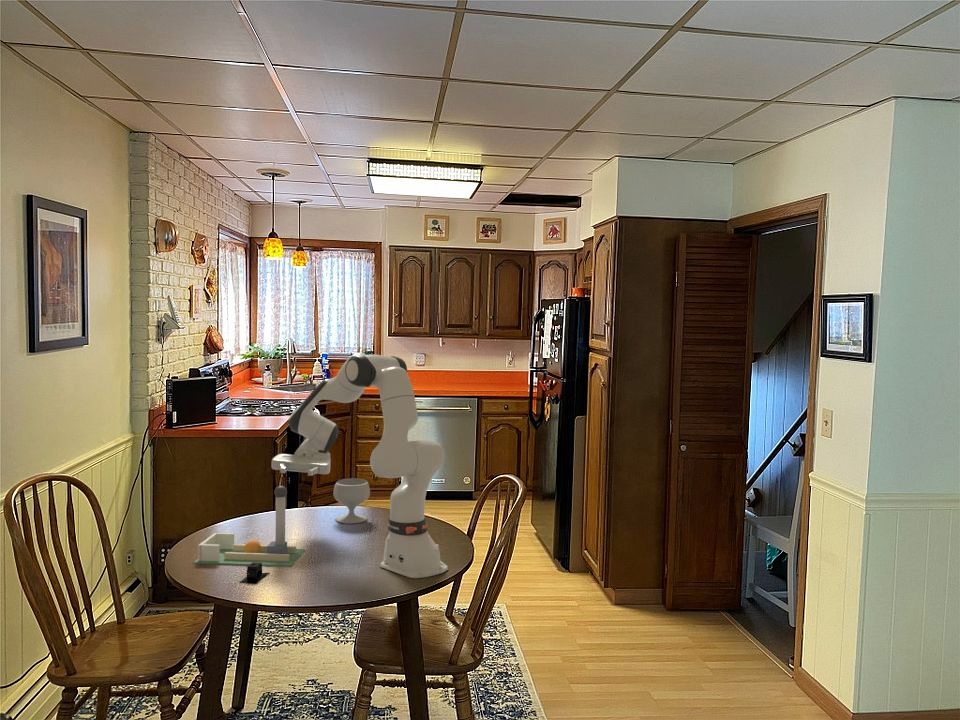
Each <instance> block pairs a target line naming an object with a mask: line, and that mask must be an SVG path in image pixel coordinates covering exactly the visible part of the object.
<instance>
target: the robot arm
mask: <svg viewBox="0 0 960 720" xmlns="http://www.w3.org/2000/svg"><path fill="white" fill-rule="evenodd" d="M366 388H376V389H378V392H379V397H380V404H381V411H382V418H383V420H382V421H383V430H382V431H383V432H382V435H381V438H380V440H379V443H378V444H377V445H376V446H375V447H374V449H373V450H372V452H371V455H370V458H369V465H370V468H371V471H372V472H373V473H374V476H376V477H378V478H385V479H396V478H403V479H402V481H401V483H400V484H399V486H397V487H396V488H394V490H392V492H391V494H390V497H389V517H388V522H387V530H388V535H387V537H386V539H385V540H384V541H385V542H384V548H383V550H384V552H383V559H382V561H380V567H381V568H382V569H384V570H388V571H389V572H390V571H391V572H394V573H395V574H399V575H401V576H405V577H407V578H411V579H420V578H428V577H432V576H436V575H440V574H443V573H444V572H446V571H447V570H449V568H448V565H447V564H446V563H444V562H443V561H441V553H440V545H439V544H437V543H436V542H435V541H434V540H433V538H432V537H431V535H430V534H429V532H428V530H429V524H427V520H426V517H425V509H426V508H425V507H426V496H427V491H428V488H429V486H430V483H431V481H432V479H433V478H434V476H435V475H436V473H437V472H438V471H439V470H440V469H441V468H442V467H443V465H444V463H445V457H446V456H445V455H446V454H445V450H444V448H443V446H442V444H441V443H439V442H438V441H435V440H431V439H428V440H427V439H419V440H409V439H408V434H409V431H410V430H411V429H412V428H414V427H415V425H416V424H417V423H418V420H419V415H418V408H417V404H416V397H415V393H414V388H413V385H412V382H411V379H410V377H409V374H408V368H407V363H406V361H404V360H403V358H400V357H398V356H393V355H391V356H390V355H389V356H388V355H380V354H365V353H361V352H356V353H353V354H351V355H350V356H349V357H348V358H347V360H346V361H345V362H344V363H343V364H342V365H341V367H340V368H339V371H338V372H337V373H336V375H335V376H333V377H332V378H325V379H323V380H321V382H320V383H319V384H318V385H317V386H316V387H315V388H314V389H313V391H311V393H310V394H309V395H308V396H307V397H306V398H305V400H303V402H302V403H301V404H300V405H299V406H298V407H297V408H295V409H294V410H293V411H292V413H291V415H290V416H289V418H288V421H287V423H288V427H289V429H290V431H292V432H293V433H296V434H298V435H301V436H303V437H305V438H306V439H304V441H302V443H301V444H300V445H299V447H298V448H297V449H296V450H295V452H294V454H290V453H279V454H276V456H275V455H274V457H272V459H271V469H272V470H276V471H280V472H279V473H280V474H286V473H287V472H294V473H295V472H298V473H307V476H308V477H309V476H311V477H313V475H316V474H317V475H318V474H319V475H329V474H330V472H331V463H332V462H331V461H332V459H331V452H329V451H330V450H331V448H332V447H333V445H334V444H335V442H336V440H337V438H338V436H339V434H340V433H339V426H338V424H337V423H335V422H334V421H332V420H330V419H328V418H326V417H325V416H322V415H321V414H319V413H317V412H316V411H314V409H313V408H314V407H315V406H316V405H317V404H319V402H320V401H323V400H325V401H334V402H337V403H342V404H348V403H352V402H355V401H357V400H358V399H359V398H360V397H361V396H362V395H363V393H364V392H365V390H366Z"/></svg>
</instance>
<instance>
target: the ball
mask: <svg viewBox="0 0 960 720" xmlns="http://www.w3.org/2000/svg"><path fill="white" fill-rule="evenodd" d="M261 545H262V544H261V543H260V541H258V540H257V539H250V540H248V541H247V542H246V543H245V552H246V553H259V552H260V549H261Z"/></svg>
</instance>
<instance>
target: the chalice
mask: <svg viewBox="0 0 960 720" xmlns="http://www.w3.org/2000/svg"><path fill="white" fill-rule="evenodd" d="M332 492H333V497H334V499H335V500H336V502H338V503H340V504H341V505H344V506H346V508H347V509H348V514H344V515H339V516H337V517H336V518H335V521H336V522H338V523H341V524H352V525H353V524H360V523H364V522H366V521H367V520H368V517H367V516H365V515H362V514H356V513H355V509H356V507H357V506H360V505H361V504H362V503H364V502H366V501H367V500H368V499H369V498H370V495H371V489H370V485H369V482H368V481H367V480H366V479H363V478H356V477H355V478H351V477H350V478H341V479H339V480H337V481H336V483H335V484H334V488H333V491H332Z"/></svg>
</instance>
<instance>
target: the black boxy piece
mask: <svg viewBox="0 0 960 720" xmlns="http://www.w3.org/2000/svg"><path fill="white" fill-rule="evenodd" d="M246 566H247V567H246V568H247V569H246V576H245V577H244V578H243V579H241V581H239V582H238V583H239V584H248V585H258V584H259V583H260V582H261V581H263V580H264V579H265V578H266V577H267V576H268V575H269V574H270V572H265V573H262V572H263V566H262V563H255V562H253V563H251V564H250V565H249V566H248V565H246Z"/></svg>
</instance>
